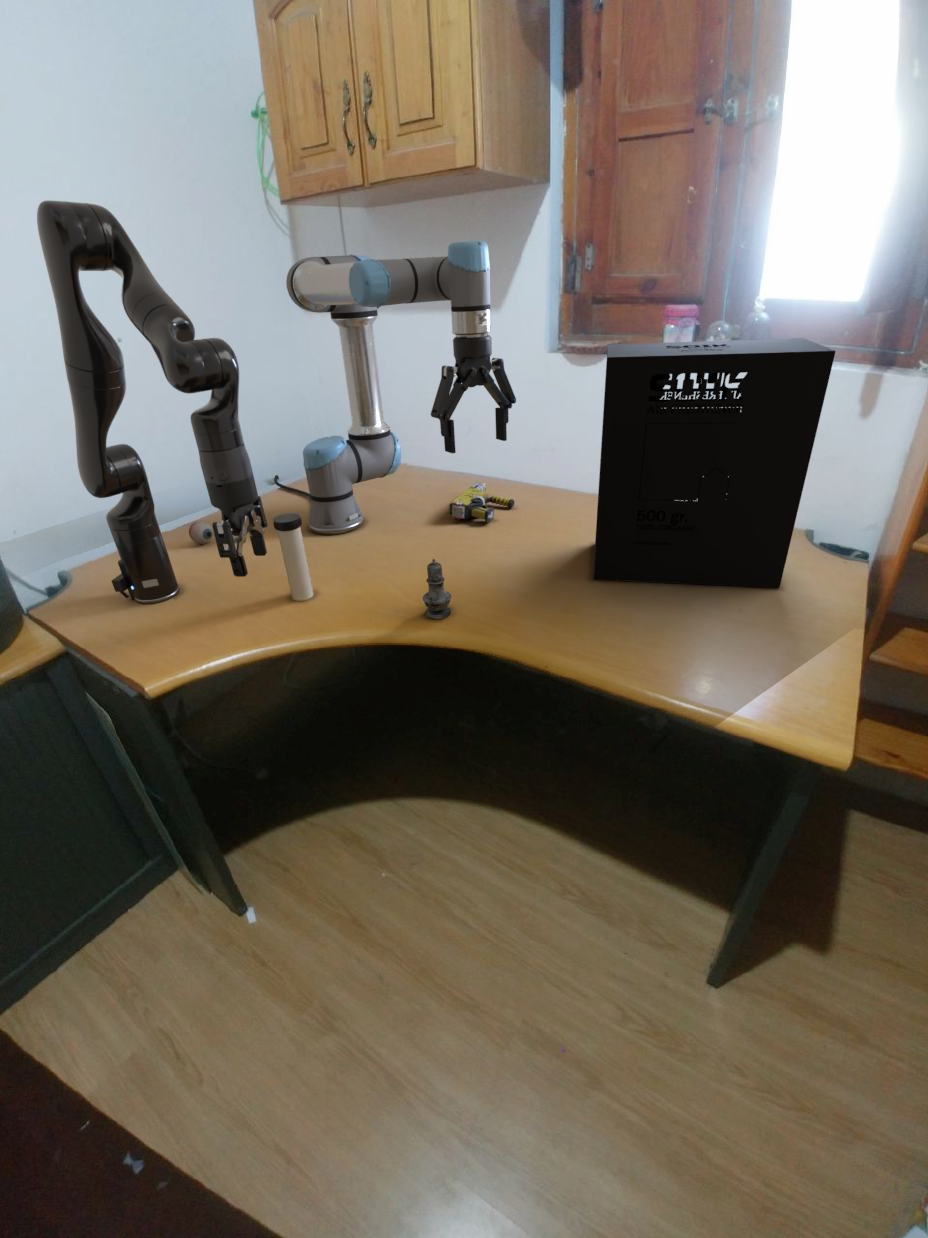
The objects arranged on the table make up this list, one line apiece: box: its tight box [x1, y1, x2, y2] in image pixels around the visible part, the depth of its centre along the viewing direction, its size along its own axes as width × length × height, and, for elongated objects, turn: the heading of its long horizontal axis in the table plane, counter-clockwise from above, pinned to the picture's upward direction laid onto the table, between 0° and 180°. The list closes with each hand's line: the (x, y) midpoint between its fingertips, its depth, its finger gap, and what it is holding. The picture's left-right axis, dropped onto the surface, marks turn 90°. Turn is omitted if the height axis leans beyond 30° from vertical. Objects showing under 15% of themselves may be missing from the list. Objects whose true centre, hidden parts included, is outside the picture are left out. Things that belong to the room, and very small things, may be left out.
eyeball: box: [188, 520, 214, 545], centre depth 161 cm, size 6×6×6 cm
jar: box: [276, 526, 315, 602], centre depth 128 cm, size 5×5×18 cm
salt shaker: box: [422, 558, 453, 620], centre depth 120 cm, size 6×6×12 cm
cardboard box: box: [592, 337, 836, 589], centre depth 125 cm, size 38×20×45 cm, turn 78°
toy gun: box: [448, 481, 515, 523], centre depth 173 cm, size 5×24×15 cm
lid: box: [272, 512, 303, 532], centre depth 124 cm, size 6×6×2 cm
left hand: (251, 565), depth 106 cm, fingers open, 8 cm apart
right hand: (476, 445), depth 127 cm, fingers open, 13 cm apart
